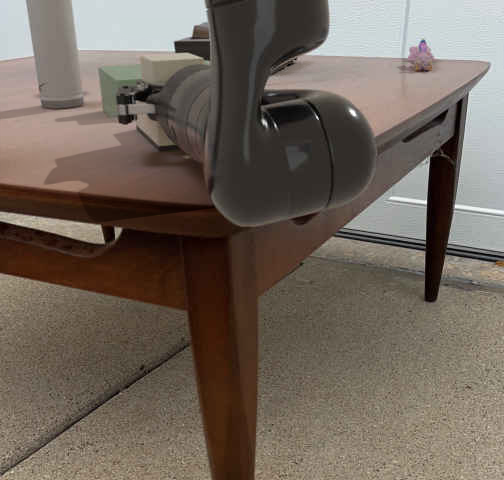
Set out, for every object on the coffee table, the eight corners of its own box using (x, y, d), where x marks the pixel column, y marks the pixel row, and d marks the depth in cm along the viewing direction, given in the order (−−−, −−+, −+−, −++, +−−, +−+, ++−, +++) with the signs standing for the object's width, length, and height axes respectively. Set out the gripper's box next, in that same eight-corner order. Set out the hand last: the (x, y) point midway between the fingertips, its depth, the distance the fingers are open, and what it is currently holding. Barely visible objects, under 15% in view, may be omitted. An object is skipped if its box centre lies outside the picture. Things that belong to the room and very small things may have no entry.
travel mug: (35, 109, 101) (12, -43, 92) (48, 102, 107) (28, -42, 98) (77, 109, 101) (58, -44, 92) (88, 101, 107) (71, -43, 98)
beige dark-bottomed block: (160, 166, 68) (152, 60, 64) (137, 142, 79) (129, 50, 74) (208, 161, 70) (203, 58, 66) (180, 138, 80) (174, 48, 76)
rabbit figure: (439, 79, 130) (433, 57, 142) (443, 47, 127) (436, 27, 139) (405, 79, 131) (402, 57, 143) (408, 47, 128) (404, 27, 140)
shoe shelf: (121, 130, 85) (116, 80, 83) (102, 110, 99) (98, 66, 97) (243, 120, 90) (242, 72, 88) (209, 102, 104) (207, 60, 101)
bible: (318, 62, 148) (319, 13, 144) (261, 78, 127) (260, 21, 123) (224, 59, 158) (222, 13, 154) (156, 73, 137) (152, 20, 133)
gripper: (294, 63, 57) (231, 47, 72) (122, 74, 53) (92, 55, 68) (294, 153, 60) (234, 120, 75) (131, 170, 56) (101, 132, 71)
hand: (167, 89), depth 71 cm, fingers closed on beige dark-bottomed block, 5 cm apart
